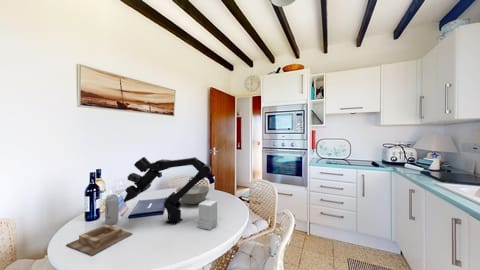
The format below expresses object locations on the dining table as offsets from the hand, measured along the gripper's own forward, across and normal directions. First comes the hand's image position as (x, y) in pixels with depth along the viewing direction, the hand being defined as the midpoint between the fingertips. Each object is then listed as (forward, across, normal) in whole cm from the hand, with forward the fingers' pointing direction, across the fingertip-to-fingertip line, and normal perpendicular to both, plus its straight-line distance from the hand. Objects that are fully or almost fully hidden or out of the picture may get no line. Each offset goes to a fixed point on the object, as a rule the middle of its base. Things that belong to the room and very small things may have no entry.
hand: (128, 198), depth 106 cm
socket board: (+12, +18, +6) cm, 22 cm away
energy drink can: (+16, +1, +3) cm, 16 cm away
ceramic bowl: (-11, -29, +31) cm, 43 cm away
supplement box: (-20, +6, +42) cm, 47 cm away
